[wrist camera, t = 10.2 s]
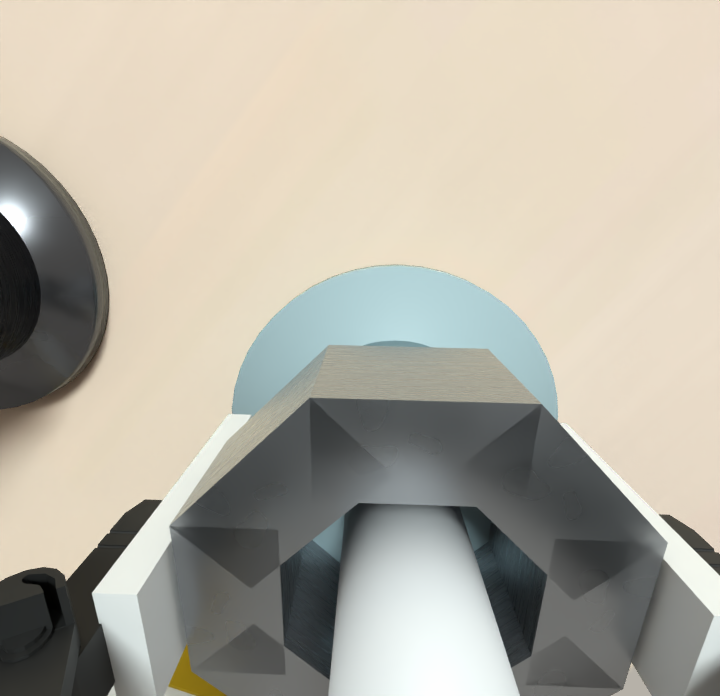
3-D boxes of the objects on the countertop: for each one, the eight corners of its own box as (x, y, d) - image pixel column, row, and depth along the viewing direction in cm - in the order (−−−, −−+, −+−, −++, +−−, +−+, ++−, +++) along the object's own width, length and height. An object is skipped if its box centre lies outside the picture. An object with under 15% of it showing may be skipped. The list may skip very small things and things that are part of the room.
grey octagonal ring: (244, 625, 12) (203, 752, 9) (217, 342, 9) (148, 393, 6) (542, 637, 12) (598, 770, 9) (601, 351, 9) (709, 408, 6)
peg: (190, 463, 16) (-151, 908, 6) (335, 195, 13) (180, 51, 2) (433, 585, 18) (524, 1114, 7) (615, 373, 14) (1270, 761, 4)
